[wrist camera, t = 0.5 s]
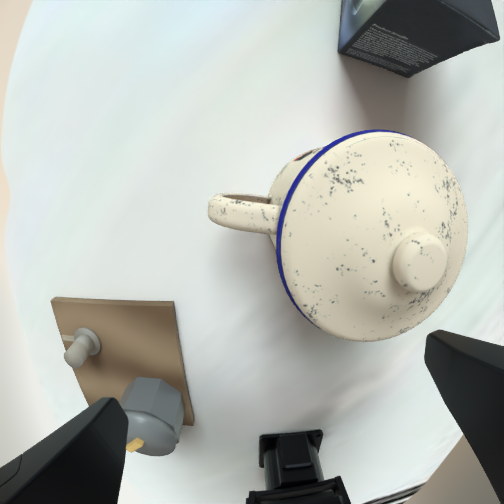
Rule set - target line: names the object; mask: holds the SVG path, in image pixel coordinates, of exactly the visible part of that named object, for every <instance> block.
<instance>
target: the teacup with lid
mask: <svg viewBox="0 0 504 504" xmlns="http://www.w3.org/2000/svg"><path fill="white" fill-rule="evenodd" d="M208 216H209V218H210V220H211V221H213V222H214V223H216V224H218V225H221V226H224V227H228V228H232V229H236V230H242V231H248V232H256V233H264V234H270V237H271V239H272V242H273V244H274V247H275V249H276V254H277V263H278V268H279V273H280V276H281V279H282V282H283V285H284V287H285V289H286V292H287V294H288V295H289V297H290V299H291V301H292V302H293V304H294V305H295V306H296V308H297V309H298V310H299V311H300V312H301V314H302V315H303V316H304V317H305V318H306V319H308V320H309V321H310V322H311V323H312V324H314V325H315V326H317V327H318V328H320V329H322V330H324V331H325V332H327V333H329V334H331V335H334V336H336V337H339V338H343V339H346V340H352V341H363V342H368V341H379V340H384V339H389V338H392V337H395V336H398V335H400V334H402V333H405V332H407V331H408V330H410V329H412V328H414V327H415V326H417V325H418V324H420V323H421V322H422V321H424V320H425V319H426V318H428V317H429V316H430V315H431V314H432V313H433V312H434V311H435V310H436V309H437V308H438V307H439V305H440V304H441V303H442V302H443V300H444V299H445V298H446V296H447V295H448V293H449V292H450V290H451V289H452V287H453V285H454V283H455V281H456V279H457V277H458V275H459V272H460V270H461V267H462V264H463V260H464V256H465V252H466V246H467V237H468V220H467V211H466V206H465V202H464V198H463V195H462V192H461V189H460V187H459V184H458V182H457V180H456V178H455V177H454V175H453V173H452V172H451V170H450V169H449V167H448V166H447V165H446V163H445V162H444V161H443V160H442V159H441V158H440V157H439V156H438V155H437V154H436V153H435V152H434V151H433V150H432V149H430V148H429V147H428V146H426V145H425V144H423V143H421V142H420V141H418V140H416V139H414V138H412V137H410V136H407V135H405V134H402V133H398V132H395V131H389V130H365V131H360V132H356V133H352V134H349V135H346V136H344V137H342V138H339V139H337V140H335V141H334V142H332V143H330V144H329V145H327V146H325V147H322V148H318V149H314V150H311V151H308V152H305V153H303V154H301V155H299V156H297V157H296V158H294V159H293V160H291V161H290V162H289V163H288V164H287V165H286V166H285V167H284V168H283V169H282V170H281V171H280V172H279V174H278V175H277V177H276V178H275V180H274V182H273V184H272V186H271V189H270V191H269V194H268V196H260V195H251V194H239V193H221V194H216V195H214V196H212V197H211V198H210V200H209V205H208Z"/></svg>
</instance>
